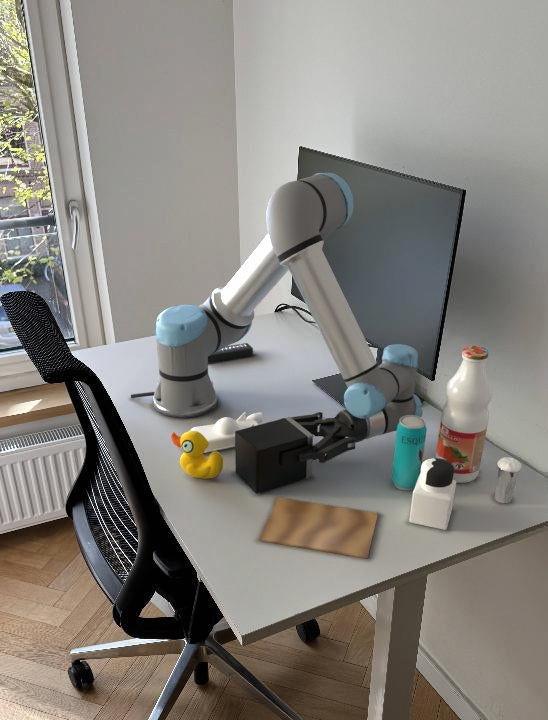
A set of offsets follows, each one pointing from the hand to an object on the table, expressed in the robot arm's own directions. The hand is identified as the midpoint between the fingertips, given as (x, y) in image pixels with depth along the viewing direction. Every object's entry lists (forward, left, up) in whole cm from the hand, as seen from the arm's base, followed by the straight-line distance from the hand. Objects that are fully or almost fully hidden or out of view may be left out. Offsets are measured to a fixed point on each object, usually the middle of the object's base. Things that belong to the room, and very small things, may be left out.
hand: (269, 449), depth 154 cm
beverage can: (+28, +5, -7) cm, 29 cm away
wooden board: (+14, -14, -7) cm, 21 cm away
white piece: (-13, +12, -7) cm, 19 cm away
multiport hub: (-27, +57, -7) cm, 63 cm away
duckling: (-14, -3, -7) cm, 16 cm away
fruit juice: (+38, +13, -7) cm, 40 cm away
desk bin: (+1, +1, -7) cm, 7 cm away
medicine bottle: (+34, -5, -7) cm, 35 cm away
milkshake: (+48, +5, -7) cm, 49 cm away
